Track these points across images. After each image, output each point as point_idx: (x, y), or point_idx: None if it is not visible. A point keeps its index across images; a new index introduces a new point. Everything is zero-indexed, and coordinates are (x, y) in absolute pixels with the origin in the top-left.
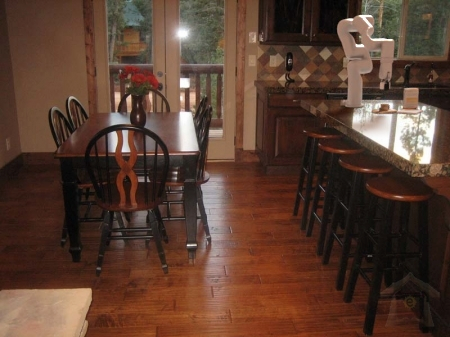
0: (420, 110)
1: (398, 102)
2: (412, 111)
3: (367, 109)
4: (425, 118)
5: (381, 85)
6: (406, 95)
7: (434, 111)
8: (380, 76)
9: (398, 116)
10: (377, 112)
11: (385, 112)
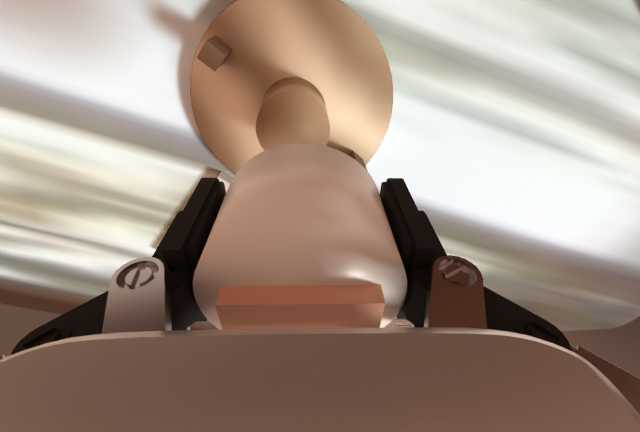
0: None
1: (599, 285)
2: None
3: (483, 3)
4: (15, 249)
5: (249, 190)
6: (388, 325)
7: None
8: (379, 395)
9: (62, 137)
10: (217, 18)
11: (191, 87)
